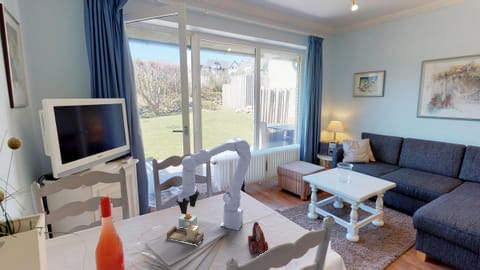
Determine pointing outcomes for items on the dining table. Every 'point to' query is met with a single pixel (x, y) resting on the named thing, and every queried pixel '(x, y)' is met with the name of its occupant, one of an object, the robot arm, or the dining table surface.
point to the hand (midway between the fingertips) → (188, 210)
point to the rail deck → (182, 235)
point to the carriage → (192, 233)
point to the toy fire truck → (257, 239)
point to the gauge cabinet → (187, 221)
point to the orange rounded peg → (187, 215)
